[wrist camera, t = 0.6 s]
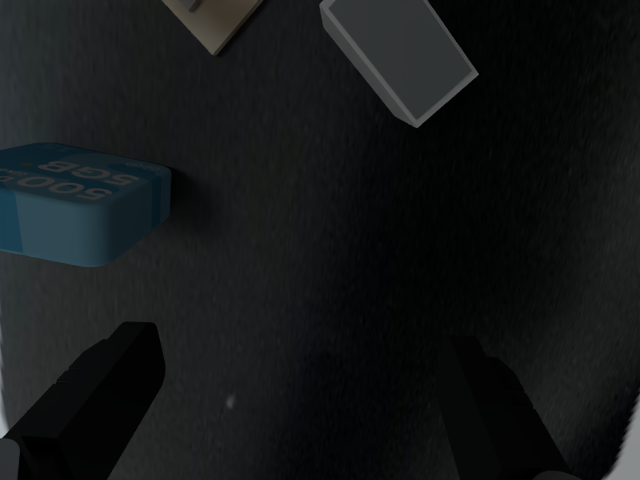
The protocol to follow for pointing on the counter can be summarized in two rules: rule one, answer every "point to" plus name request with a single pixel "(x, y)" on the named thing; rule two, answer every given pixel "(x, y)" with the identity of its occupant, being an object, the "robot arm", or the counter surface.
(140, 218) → the data package
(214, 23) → the rail board
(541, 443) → the robot arm
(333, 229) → the counter surface
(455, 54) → the block
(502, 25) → the counter surface
